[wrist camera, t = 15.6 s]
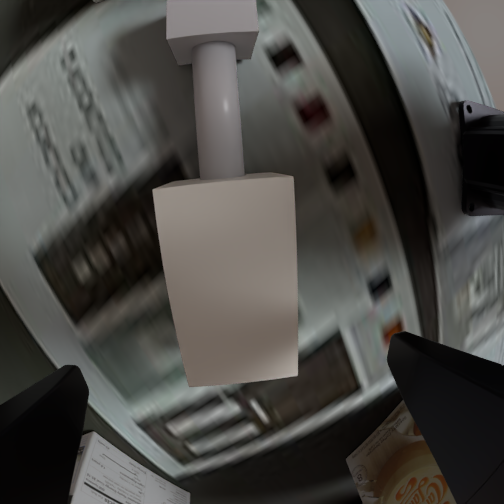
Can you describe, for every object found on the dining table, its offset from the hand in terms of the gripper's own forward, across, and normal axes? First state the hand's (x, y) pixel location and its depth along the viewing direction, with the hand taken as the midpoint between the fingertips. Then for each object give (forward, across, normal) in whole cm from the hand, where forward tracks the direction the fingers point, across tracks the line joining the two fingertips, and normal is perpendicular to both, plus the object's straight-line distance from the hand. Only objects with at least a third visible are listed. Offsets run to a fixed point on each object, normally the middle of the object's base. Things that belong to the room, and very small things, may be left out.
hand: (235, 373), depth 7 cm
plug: (+6, 0, -1) cm, 7 cm away
